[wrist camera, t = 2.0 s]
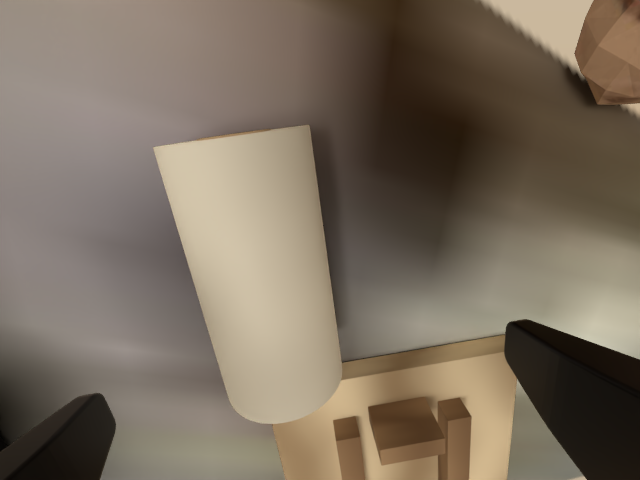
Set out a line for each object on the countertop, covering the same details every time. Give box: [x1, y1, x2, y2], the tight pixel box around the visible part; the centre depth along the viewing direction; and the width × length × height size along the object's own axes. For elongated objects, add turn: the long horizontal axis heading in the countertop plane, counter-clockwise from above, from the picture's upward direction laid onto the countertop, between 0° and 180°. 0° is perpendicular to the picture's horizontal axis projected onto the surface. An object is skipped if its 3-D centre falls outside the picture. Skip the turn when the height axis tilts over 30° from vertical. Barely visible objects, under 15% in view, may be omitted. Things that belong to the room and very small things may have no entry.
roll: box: [153, 125, 342, 424], centre depth 12 cm, size 10×5×5 cm
